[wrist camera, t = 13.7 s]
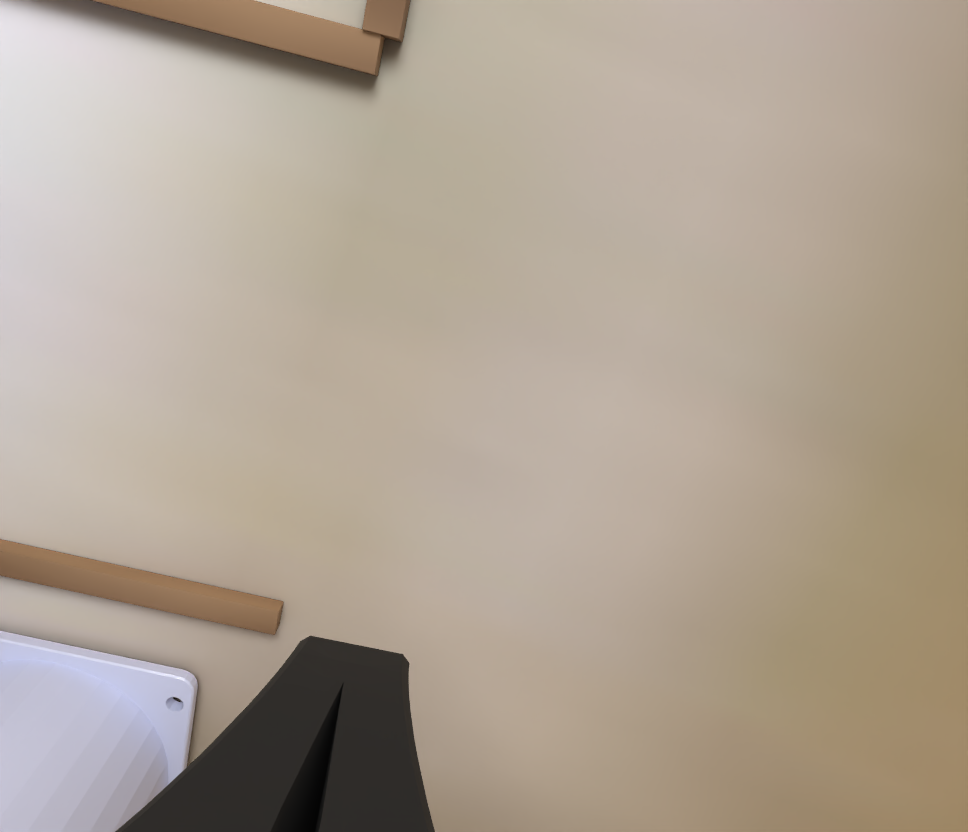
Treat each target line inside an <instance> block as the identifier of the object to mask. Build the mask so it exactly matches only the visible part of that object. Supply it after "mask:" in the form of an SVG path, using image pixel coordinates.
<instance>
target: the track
mask: <svg viewBox="0 0 968 832" xmlns="http://www.w3.org/2000/svg"><path fill="white" fill-rule="evenodd" d="M91 1H95V2H99V3H103V4H106V5H110V6H114V7H118V8H121V9H125V10H129V11H133V12H137V13H140V14H144V15H148V16H152V17H156V18H159V19H163V20H167V21H171V22H174V23H178V24H182V25H186V26H190V27H193V28H197V29H201V30H205V31H209V32H212V33H216V34H220V35H224V36H227V37H231V38H235V39H239V40H243V41H246V42H250V43H254V44H258V45H262V46H265V47H269V48H273V49H277V50H280V51H284V52H288V53H292V54H296V55H299V56H303V57H307V58H311V59H315V60H318V61H322V62H326V63H330V64H333V65H337V66H341V67H345V68H349V69H352V70H356V71H360V72H364V73H367V74H371V75H375V76H378V72H379V67H380V61H381V56H382V50H383V44H384V39H385V38H388V39H392V40H395V41H399V42H403V37H404V31H405V26H406V21H407V15H408V10H409V5H410V0H367V3H366V9H365V15H364V21H363V27H362V29H363V30H362V29H359V28H355V27H351V26H348V25H344V24H340V23H336V22H333V21H329V20H325V19H321V18H318V17H314V16H310V15H306V14H303V13H299V12H295V11H291V10H288V9H284V8H280V7H277V6H273V5H269V4H265V3H262V2H258V1H254V0H91ZM0 575H1V576H5V577H10V578H14V579H19V580H24V581H28V582H33V583H38V584H42V585H47V586H51V587H56V588H61V589H65V590H70V591H74V592H79V593H84V594H88V595H93V596H97V597H102V598H107V599H111V600H116V601H121V602H125V603H130V604H134V605H139V606H144V607H148V608H153V609H157V610H162V611H167V612H171V613H176V614H181V615H185V616H190V617H194V618H199V619H204V620H208V621H213V622H217V623H222V624H227V625H231V626H236V627H240V628H245V629H250V630H254V631H259V632H264V633H268V634H273V635H275V633H276V631H277V628H278V626H279V624H280V618H281V612H282V607H283V601H279V600H274V599H270V598H265V597H261V596H256V595H251V594H247V593H242V592H238V591H233V590H229V589H224V588H220V587H215V586H210V585H206V584H201V583H197V582H192V581H188V580H183V579H179V578H174V577H170V576H165V575H160V574H156V573H151V572H147V571H142V570H138V569H133V568H129V567H124V566H119V565H115V564H110V563H106V562H101V561H97V560H92V559H88V558H83V557H78V556H74V555H69V554H65V553H60V552H56V551H51V550H47V549H42V548H37V547H33V546H28V545H24V544H19V543H15V542H10V541H6V540H1V539H0Z"/></svg>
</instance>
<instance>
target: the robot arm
mask: <svg viewBox="0 0 968 832" xmlns="http://www.w3.org/2000/svg"><path fill="white" fill-rule="evenodd" d="M408 673H409V662H408V661H407V659H406V658H405V657H404V655H403V654H399V653H394V652H389V651H384V650H379V649H374V648H369V647H364V646H359V645H354V644H349V643H344V642H339V641H334V640H329V639H324V638H319V637H314V636H309V637H307V638H306V639H304V640H302V641H300V643H299V644H298V646H297V647H296V648H295V650H294V651H293V653H292V654H291V655H290V657H289V658H288V659H287V660H286V662H285V663H284V664H283V666H282V667H281V668H280V669H279V671H278V672H277V673H276V674H275V675H274V677H273V678H272V679H271V680H270V681H269V682H268V684H267V685H266V686H265V687H264V688H263V689H262V690H261V692H260V693H259V694H258V695H257V696H256V697H255V698H254V699H253V701H252V702H251V703H250V704H249V705H248V706H247V707H246V708H245V709H244V710H243V711H242V712H241V713H240V714H239V716H238V717H237V718H236V719H235V720H234V721H233V722H232V723H231V724H230V725H229V726H228V727H227V728H226V729H225V730H224V731H223V732H222V733H221V734H220V735H219V736H218V737H217V738H216V740H215V741H214V742H213V743H212V744H211V745H210V746H209V747H208V748H207V749H206V750H205V751H204V752H203V753H202V754H201V755H200V756H198V757H197V758H196V759H195V760H194V761H193V762H192V763H191V764H190V765H189V766H188V767H187V761H188V753H189V746H190V739H191V732H192V725H193V718H194V711H195V703H196V696H197V689H198V683H197V680H196V678H195V676H194V675H192V674H191V673H190V672H188V671H186V670H183V669H178V668H174V667H169V666H164V665H159V664H155V663H150V662H145V661H141V660H136V659H131V658H126V657H122V656H117V655H112V654H108V653H103V652H98V651H94V650H89V649H84V648H79V647H75V646H70V645H65V644H61V643H56V642H51V641H46V640H42V639H37V638H32V637H28V636H23V635H18V634H14V633H9V632H4V631H0V832H435V831H434V827H433V823H432V819H431V815H430V811H429V807H428V803H427V799H426V795H425V790H424V785H423V781H422V776H421V771H420V766H419V762H418V757H417V752H416V746H415V740H414V734H413V726H412V719H411V712H410V701H409V684H408ZM172 697H176V698H179V699H180V700H181V701H182V702H178V701H176V700H174V699H173V698H172Z"/></svg>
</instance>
